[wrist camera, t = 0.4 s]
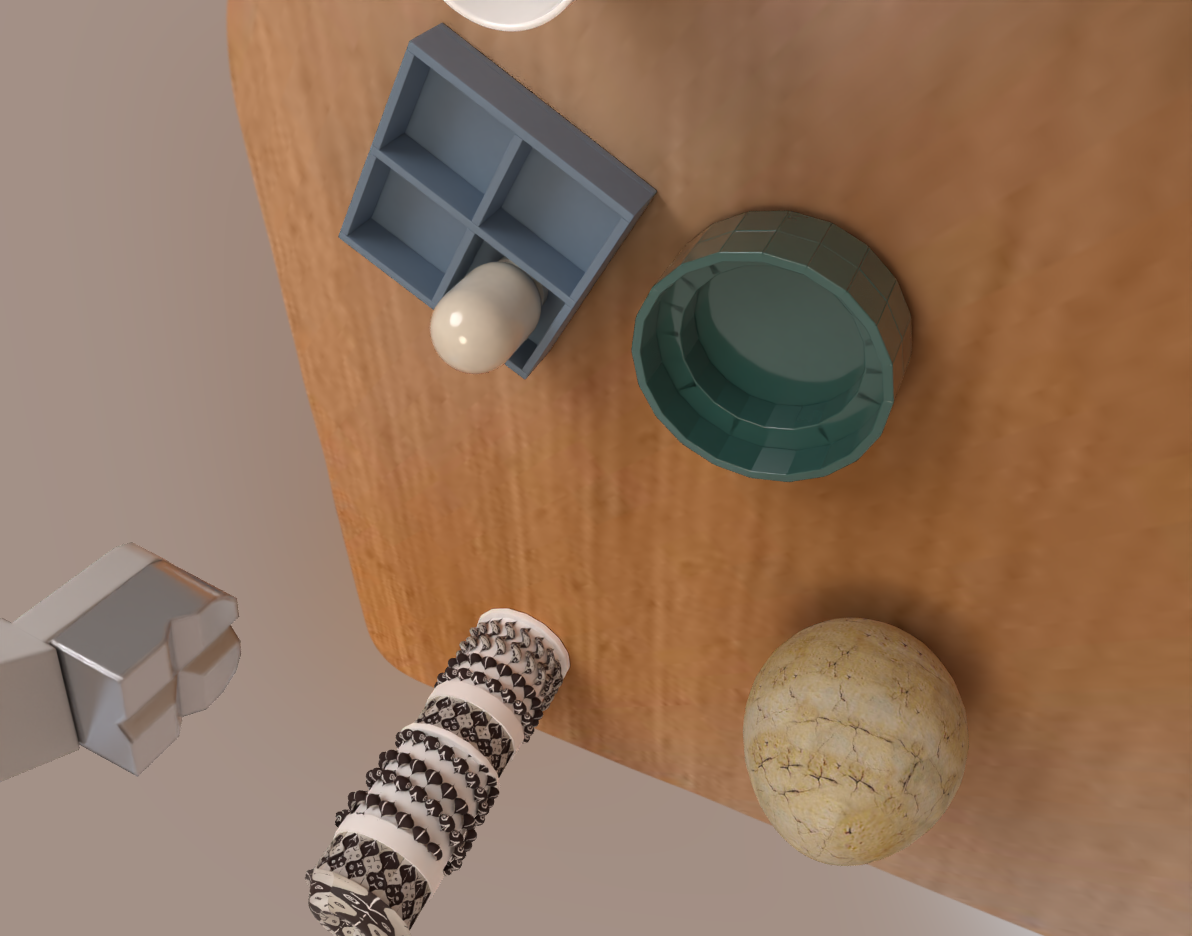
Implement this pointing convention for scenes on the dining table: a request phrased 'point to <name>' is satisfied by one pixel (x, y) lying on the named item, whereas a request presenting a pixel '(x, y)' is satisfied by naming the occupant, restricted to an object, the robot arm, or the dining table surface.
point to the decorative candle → (437, 779)
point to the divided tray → (487, 187)
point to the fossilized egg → (854, 740)
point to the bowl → (774, 346)
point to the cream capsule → (486, 317)
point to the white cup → (509, 12)
